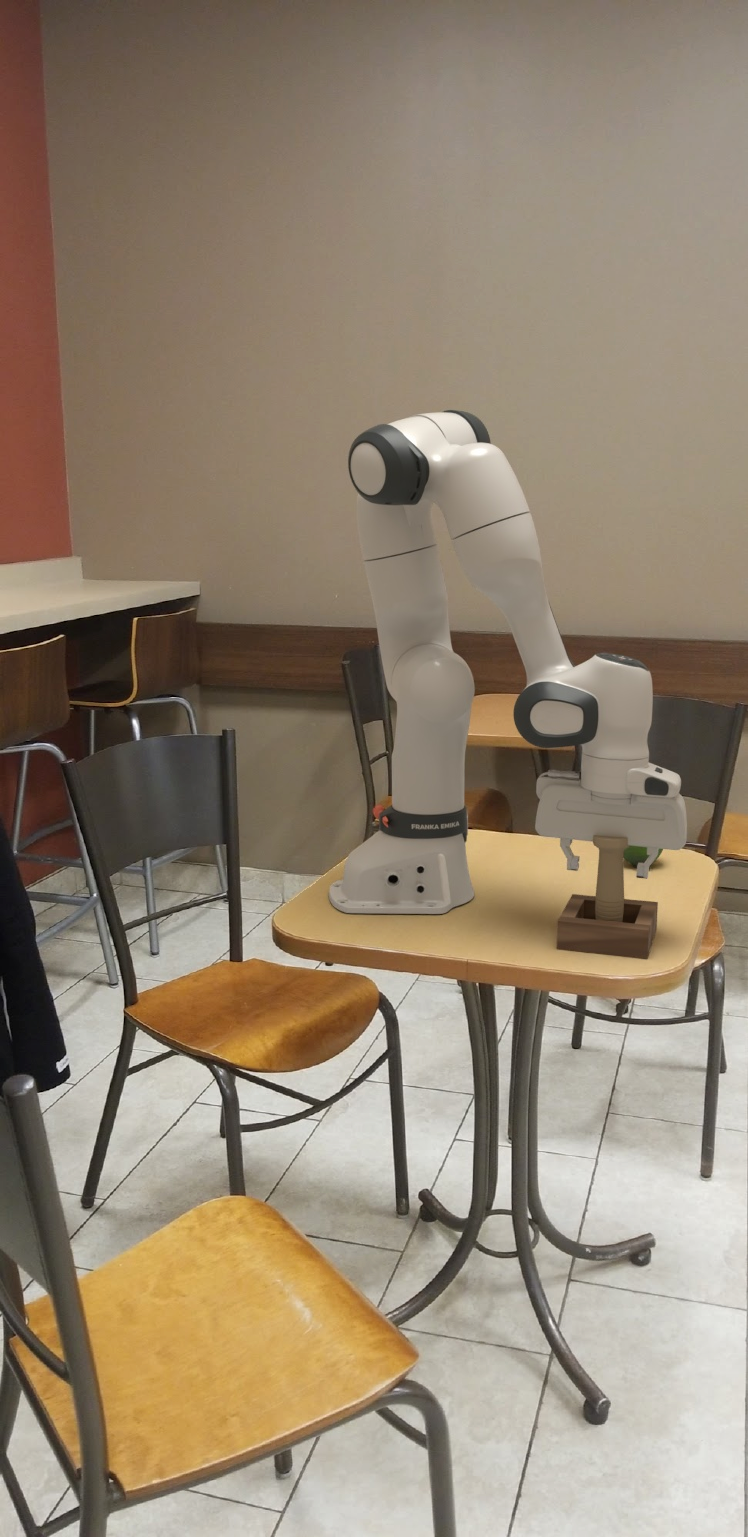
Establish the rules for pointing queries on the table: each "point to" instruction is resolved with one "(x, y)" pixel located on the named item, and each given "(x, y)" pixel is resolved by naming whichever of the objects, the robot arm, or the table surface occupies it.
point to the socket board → (607, 928)
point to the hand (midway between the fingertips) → (607, 873)
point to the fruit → (637, 854)
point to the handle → (610, 878)
